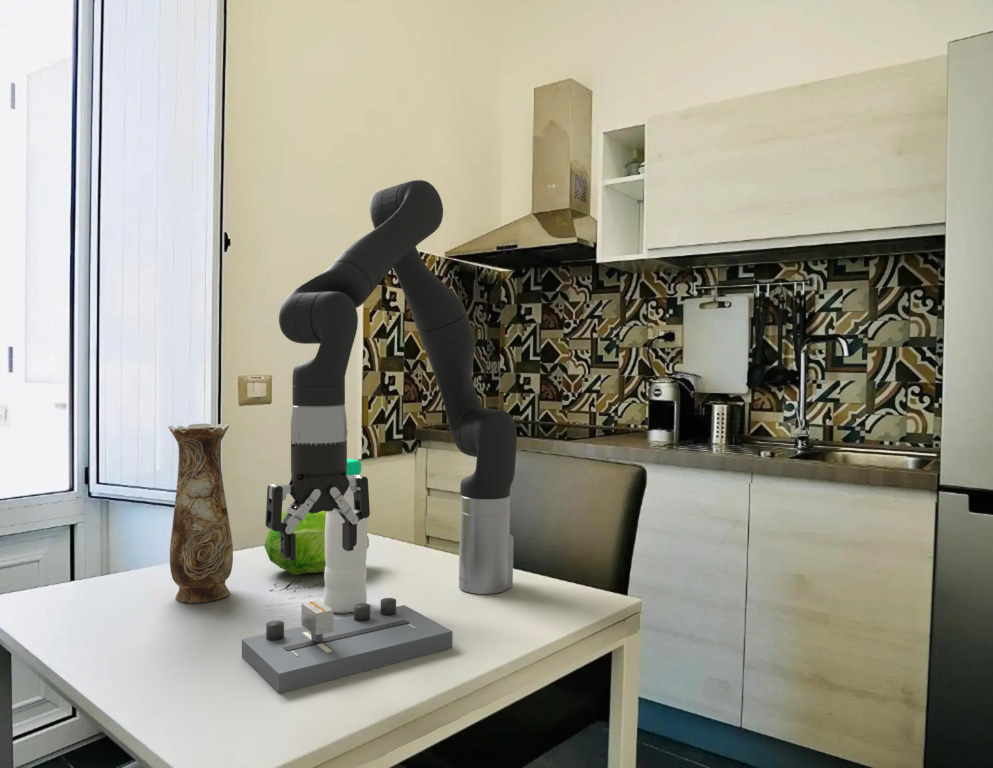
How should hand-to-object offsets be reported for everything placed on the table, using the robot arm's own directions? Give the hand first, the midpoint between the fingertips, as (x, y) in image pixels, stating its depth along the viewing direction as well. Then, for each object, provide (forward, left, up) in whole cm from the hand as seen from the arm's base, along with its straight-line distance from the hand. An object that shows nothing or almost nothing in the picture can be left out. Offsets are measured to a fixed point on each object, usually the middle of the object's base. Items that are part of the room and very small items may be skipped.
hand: (319, 554), depth 102 cm
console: (-5, 0, -15) cm, 15 cm away
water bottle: (-13, -18, -15) cm, 27 cm away
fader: (0, 0, -12) cm, 12 cm away
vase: (+5, -38, -15) cm, 41 cm away
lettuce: (-18, -41, -15) cm, 47 cm away
